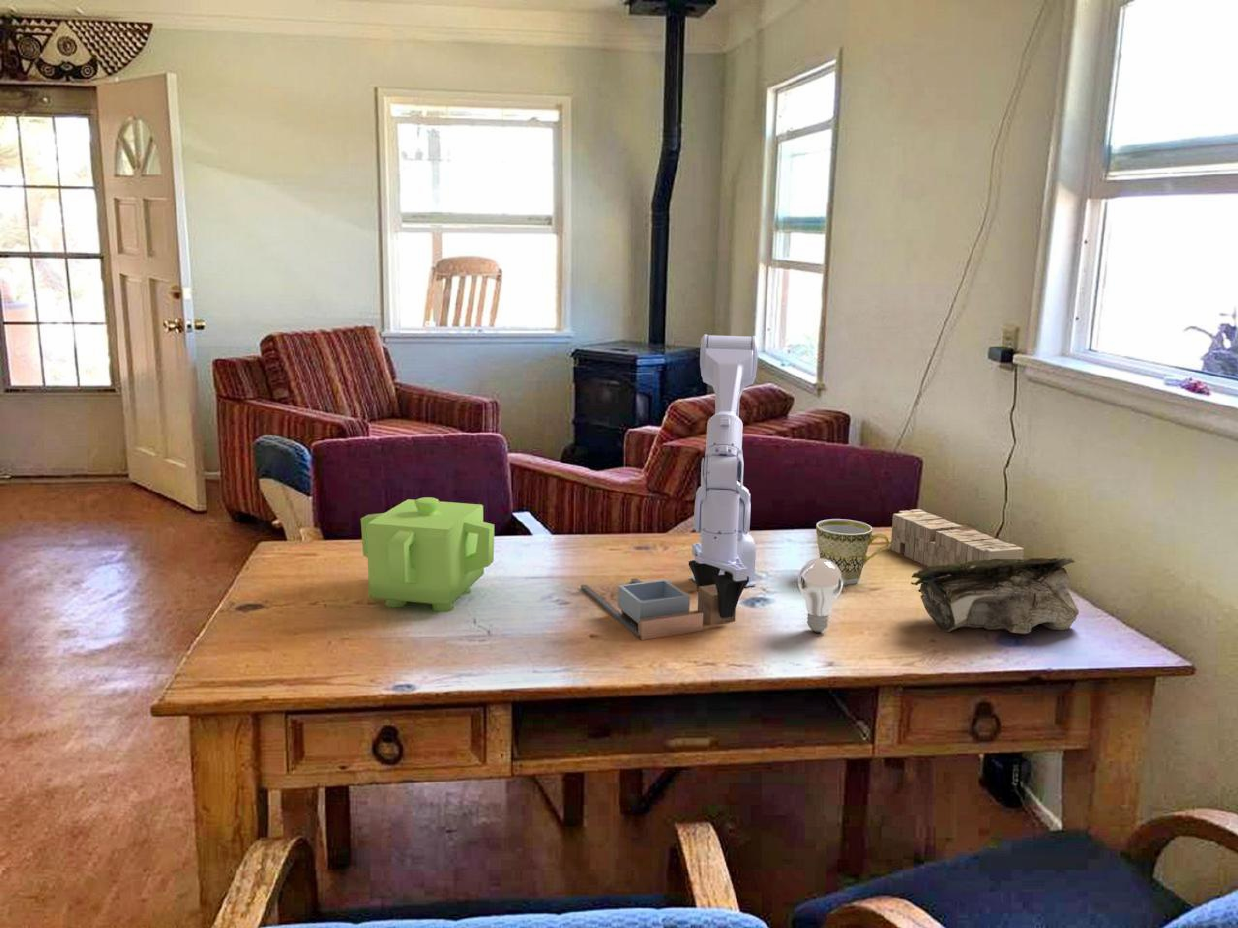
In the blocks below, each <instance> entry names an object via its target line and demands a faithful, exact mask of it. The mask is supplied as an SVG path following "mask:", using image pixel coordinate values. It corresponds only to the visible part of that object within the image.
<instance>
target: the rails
mask: <svg viewBox="0 0 1238 928" xmlns="http://www.w3.org/2000/svg"><path fill="white" fill-rule="evenodd" d="M630 582H631V584H635V583H642V582H643V581H640V580H639V579H638V578H636V577H635V578H631V579H630ZM580 589H581V590H582V591H584V593H586V594H587V595H588V596H589V597H590V598H592V599H593V600H594V601H595V602H596V603H598V604H599V606H601V607H602V608H603V609H605V610H606V612H608V613H609V614H610V615H612V617H614V619H616V620H617V622H620V623H621V624H622V625H623V626H624V627H625V628H627V630H629V631H630V632H631V633H633V634H634V636H636V637H637V638H638V639H639V640H641V641H645V640H652V639H658V638H663V637H671V636H677V635H685V634H691V633H696V632H697V633H698V632H702V631H704V620H703V612H702V611H700V610H698V609H697V610H693V611H690V610H689V612H684V613H677V614H670V615H663V616H656V617H649V618H642V619H639V622H638V626H637V625H636V624H634V623H633V622H632V621H630V619H628V618H627V617H626V615H623V614H622V612H620V611H619V610H617V609H616V608H615V607H614V606H613V605H612V604H610V603H609V602H608V601H607V600H606V599H604V598H603V597H602V596H601V595H600V594H599V593H597V591H595V590H594V589H593V588H592V587H590V586H589V585H588V584H581V585H580Z"/></svg>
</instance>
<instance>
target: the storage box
mask: <svg viewBox="0 0 1238 928" xmlns="http://www.w3.org/2000/svg"><path fill="white" fill-rule="evenodd" d="M360 527H361V528H360V529H361V542H362V555H363V556H364V557H365V558H367V572H368V576H367V577H368V598H369V599H377V600H378V599H379V600H385V603H384V606H386V607H387V608H399V607H400V608H401V607H404V606H405V605H406V604H407V603H408V602H411V603H419V604H420V603H421V604H431V606H432V610H433V611H434V612H438V613H446V612H450V611H453V610H454V608H455V607H454V604H453V603H454V602H455V601H456V600H458V599H459V598H460V597H461V596H463V595H464V596H465V595H468V594H471V592H472V590H471V586H472V585H473V584H475V582H476V581H478V580H479V579H480V578H481V577H482V576H483V575H484V573H485V570H484V569H485V568H487V567H490V566H491V565H492V563H494V560H495V558H494V557H495V556H494V553H495V524H493V523H490V522H486V521H484V505H483V504H480V503H477V504H475V503H466V502H465V503H464V502H454V501H451V502H450V501H440V500H439V499H438V498H435V497H429V496H427V497H426V496H425V497H420V498H417V499H410V498H409V499H406V500H404V501H402V502H401V503H399V504H397V505H396V506H394V507H391V509H389V510H387V511H386V512H382V513H380V512H379V513H371V514H366V515H365V516H363V517H361V518H360Z"/></svg>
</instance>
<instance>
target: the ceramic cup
mask: <svg viewBox="0 0 1238 928" xmlns="http://www.w3.org/2000/svg"><path fill="white" fill-rule="evenodd" d="M815 527H816V528H815V529H816V538H817V539H816V541H817V546H818V552H819V558H824V559H828V560H830V561H832V562H833V563H835V564H836V565H837V566H838V568H839V569H840V571H841V573H842V576H843V586H846V585H847V586H848V585H856V584H858V583H859V581H860V579H861V574H862V570H863V567H864V565H866V564H867V562H868V561H869V560H871V559H872V558H874V557H875V556H876V555H878V554H880V553H882V552H883V551H885V550H886V549H887V548H888V547H889V546H890V545H889V544H890V542H889V538H888V537H887V536H886V535H885V534H882V533H876V534H873V530H874V528H873V527H872V526H871V525H870V524H867V523H866V522H863V521H858V520H852V519H845V518H844V519H841V518H831V519H824V520H820V521H818V522H816V525H815ZM879 538H883V539H884V540H885V541H886V543H885V546H883V548H880V549H879V550H876V551H874V553H872V554H871V555H870V556H867V552H868V549H869V546H870V545H871V544H872V543H873V541H874V540H877V539H879Z"/></svg>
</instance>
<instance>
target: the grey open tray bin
mask: <svg viewBox="0 0 1238 928" xmlns="http://www.w3.org/2000/svg"><path fill="white" fill-rule="evenodd" d="M641 582H642V583H635V584H633V583H628V584H621V585H618V586H617V608H618V609H620V611H621V612H620V613H621V614H622V615H623V616H626V615H627V616H628V617H630V618H631V619H632V620H633V621H634V622H636V626H637V627H638V622H639V619H642V618H649V617H656V616H663V615H670V614H677V613H684V612H690V606H691V605H690V604H691V603H690V602H691V596H690V595H689V594H687V593H686V592H685V591H683V590H682V589H681V588H679V587H677V586H676V585H675V584H673V583H672V582H670V581H669V580H667V579H659V580H651V581H644V582H643V581H641Z"/></svg>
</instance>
